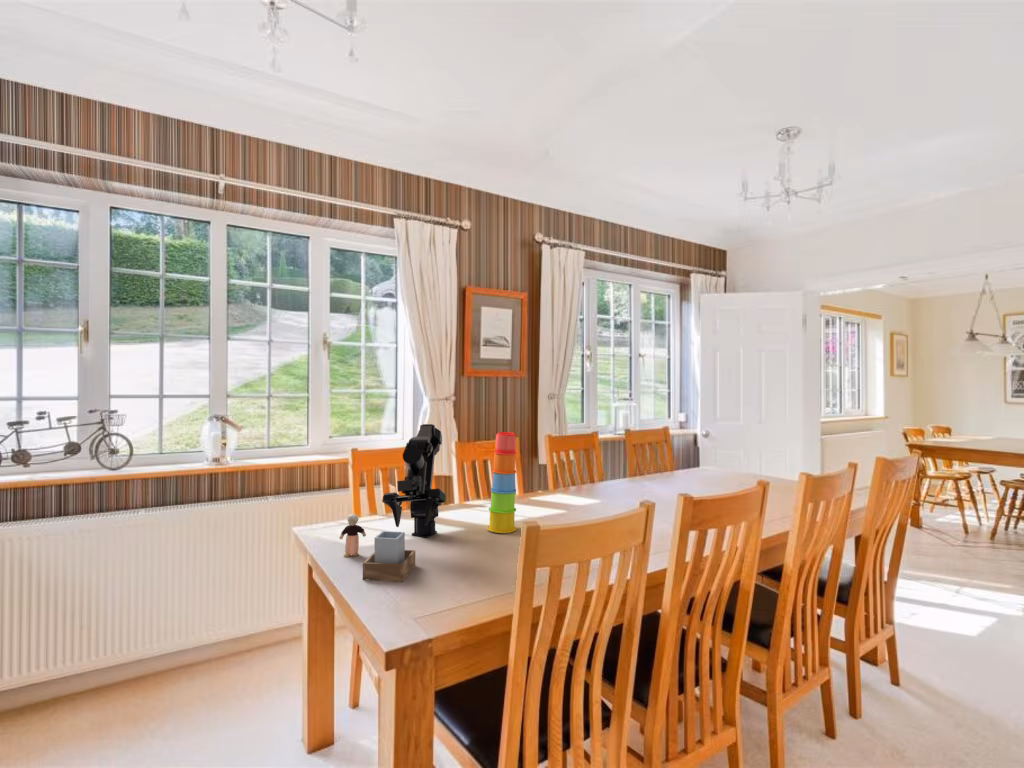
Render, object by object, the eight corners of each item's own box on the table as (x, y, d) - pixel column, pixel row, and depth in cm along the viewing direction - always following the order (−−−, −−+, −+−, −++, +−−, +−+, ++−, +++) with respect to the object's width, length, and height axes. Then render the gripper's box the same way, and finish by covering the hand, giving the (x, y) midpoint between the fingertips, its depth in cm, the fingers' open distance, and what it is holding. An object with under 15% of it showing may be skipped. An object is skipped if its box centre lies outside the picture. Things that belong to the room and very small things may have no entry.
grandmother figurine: (341, 559, 152) (340, 517, 152) (339, 555, 156) (338, 514, 156) (367, 554, 156) (366, 513, 156) (364, 551, 159) (364, 510, 159)
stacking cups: (490, 524, 187) (490, 430, 186) (518, 526, 185) (518, 431, 184) (484, 533, 177) (484, 434, 176) (513, 535, 175) (513, 434, 174)
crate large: (378, 564, 149) (378, 548, 148) (415, 565, 147) (415, 550, 147) (362, 579, 137) (362, 563, 137) (402, 581, 136) (402, 564, 136)
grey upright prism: (382, 565, 146) (382, 531, 145) (404, 566, 145) (404, 532, 145) (374, 574, 140) (374, 537, 139) (397, 575, 139) (397, 538, 139)
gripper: (377, 469, 155) (370, 520, 147) (434, 464, 151) (430, 515, 143) (393, 482, 164) (387, 530, 156) (447, 476, 161) (444, 526, 153)
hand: (411, 525), depth 152 cm, fingers open, 9 cm apart
